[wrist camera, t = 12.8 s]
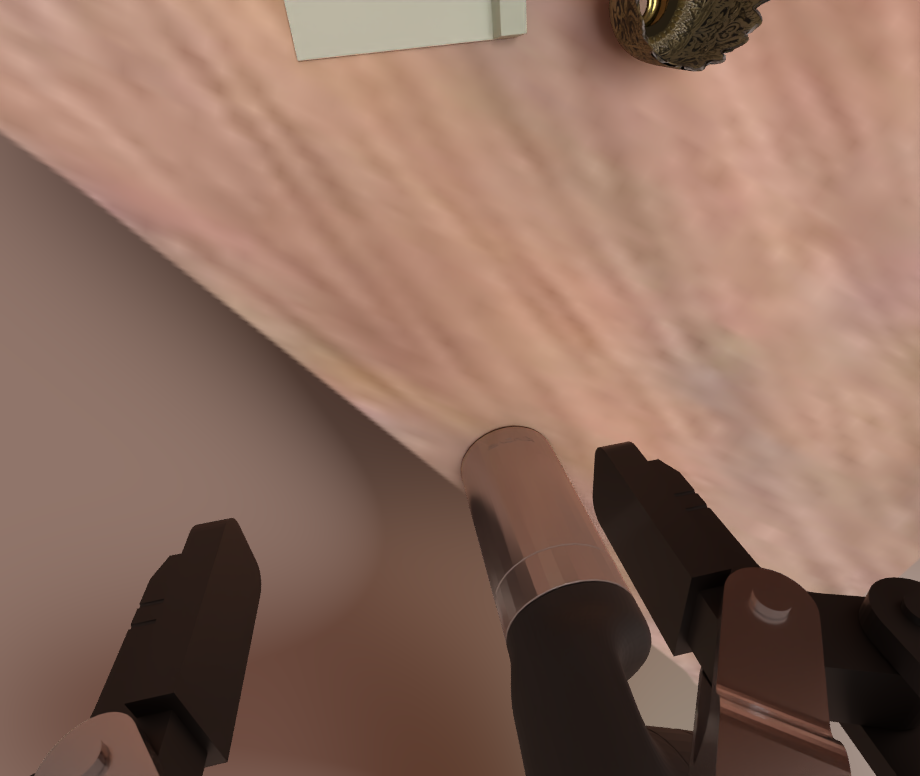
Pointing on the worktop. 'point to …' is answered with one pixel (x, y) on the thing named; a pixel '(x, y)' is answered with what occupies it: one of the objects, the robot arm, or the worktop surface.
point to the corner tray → (398, 24)
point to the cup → (684, 30)
